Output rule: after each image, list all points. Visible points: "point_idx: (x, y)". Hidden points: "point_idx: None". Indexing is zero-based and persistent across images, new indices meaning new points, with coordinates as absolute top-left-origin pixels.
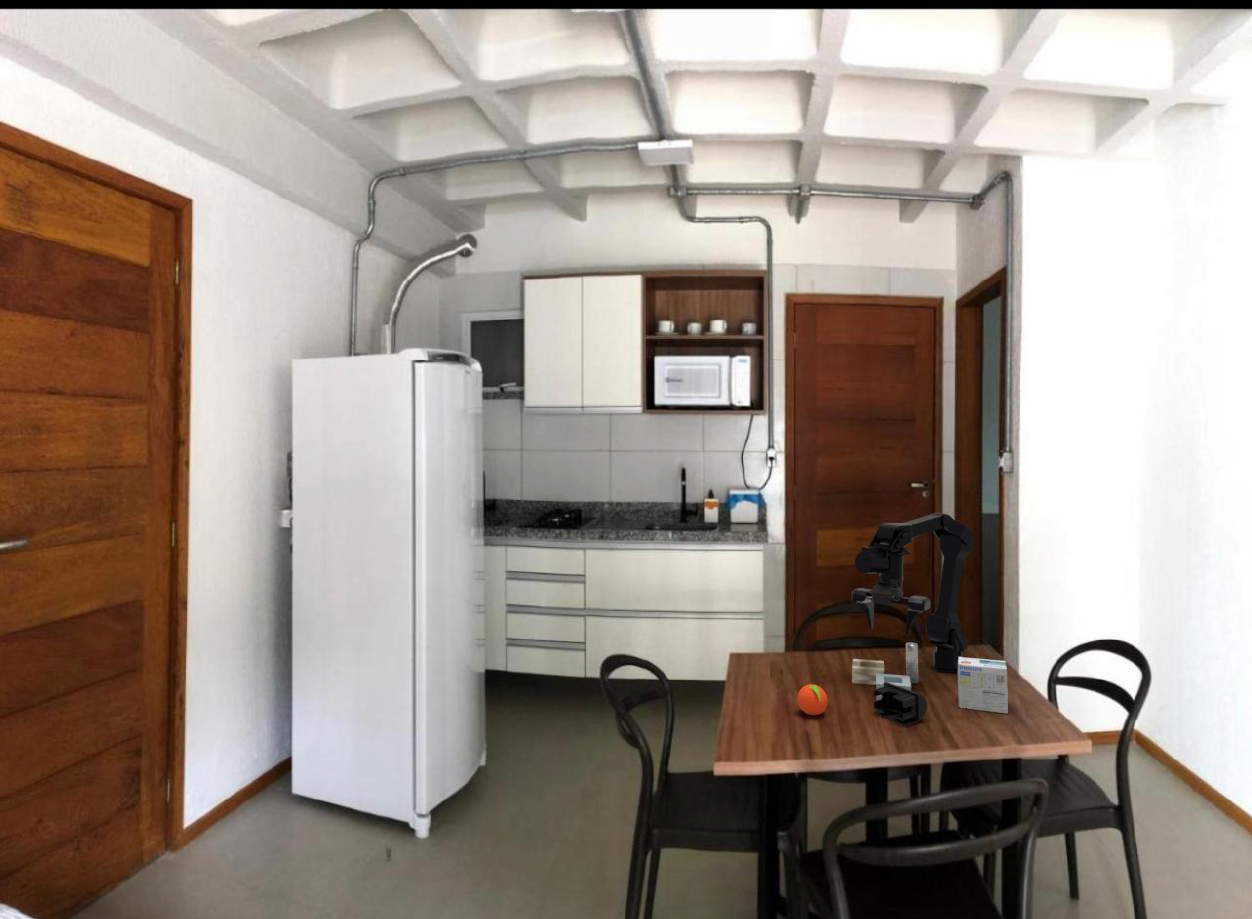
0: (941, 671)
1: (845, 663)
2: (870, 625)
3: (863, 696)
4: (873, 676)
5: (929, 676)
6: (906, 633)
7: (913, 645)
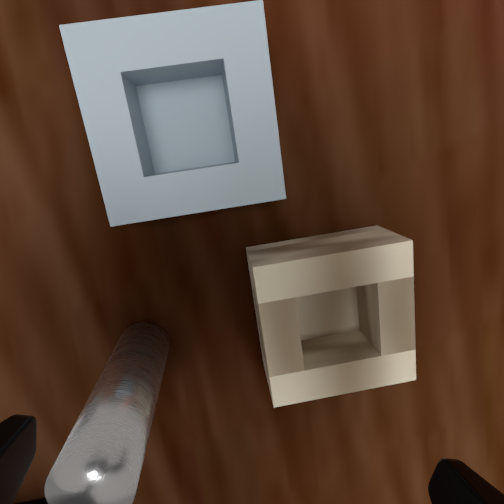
0: None
1: (418, 441)
2: (483, 494)
3: (314, 61)
4: (298, 248)
5: None
6: (9, 431)
7: (70, 465)
